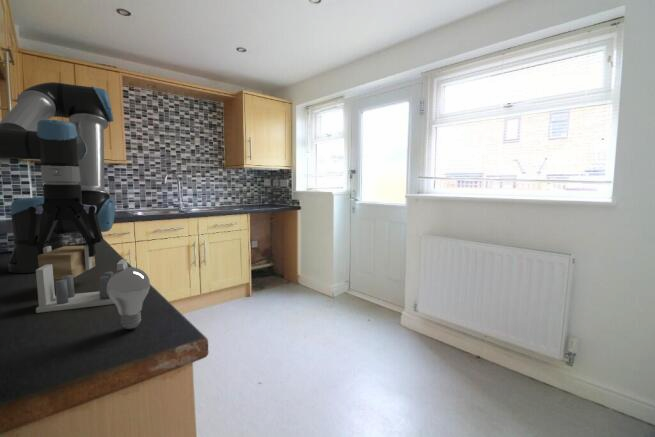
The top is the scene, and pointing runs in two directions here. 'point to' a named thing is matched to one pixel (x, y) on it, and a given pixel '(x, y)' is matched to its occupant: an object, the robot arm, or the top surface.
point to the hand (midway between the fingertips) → (69, 269)
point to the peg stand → (70, 291)
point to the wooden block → (65, 261)
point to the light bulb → (129, 294)
